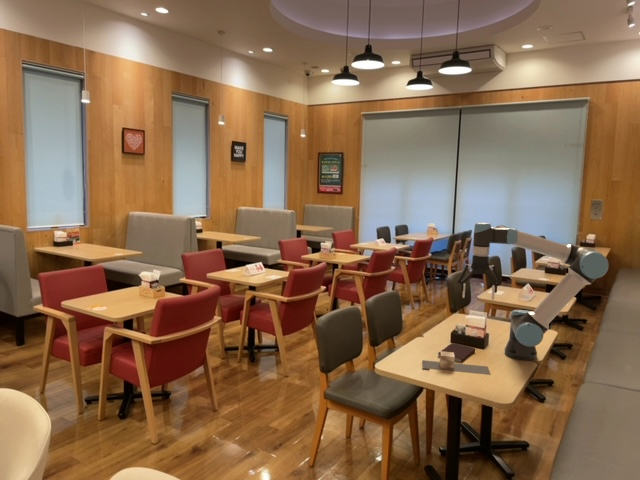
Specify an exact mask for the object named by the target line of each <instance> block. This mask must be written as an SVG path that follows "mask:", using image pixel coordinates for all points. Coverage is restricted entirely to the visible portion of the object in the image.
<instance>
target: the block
mask: <svg viewBox="0 0 640 480" xmlns="http://www.w3.org/2000/svg"><path fill="white" fill-rule="evenodd" d="M439 352H440V357H439V362H440V368H444V369H454V363H455V361H454V359H455V357H454V352H443V351H442V350H440V351H439Z"/></svg>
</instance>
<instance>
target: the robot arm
mask: <svg viewBox="0 0 640 480" xmlns="http://www.w3.org/2000/svg"><path fill="white" fill-rule="evenodd" d="M472 242H473V243H472V245H473V246H472V254H473V255H472V259H471V264H468V263H465V264H464V268H463V270H462V271H461V273H460V275H459V277H458V279H456V281H457V283H458V284H460V291H462V299H465V296H466V294H465V293H466V282H467V281H468V280H469V279H470V278H471V277H472V276H475V275H481V276H483V275H486V276H487V278H488V279H489V280H490V281H491V282H492V284H493V285H492V287H491V300H492V301H494V300H495V294H496V293H497V292H498V287H499V286H502V282H501V279H500V277H499V274H498V273H497V269H496V266H495V265H494V264H492V265H489V263H490V262H489V261H490V256H489V255H490V250H491V249H490V247H491V246H490V245H491V244H501V245H512V246H515V247H518V248H522V249H525V250H528V251H531V252H534V253H538V254H541V255H544V256H547V257H551V258H552V259H553V258H554V259H556V260H559V261H561V263H563V264H565V265H568V268H567V269H568V273H566V275H564V277H563V278H562V279H561V280H560V281H559V282H558V284H557V285H556V286H554V288H553V289H552V290H551V291H550V292H549V293H548V294H547V295H546V297H545V298H544V299H543V300H542V301H541V302H540V303H539V304H538V306H537V307H536V308H535V309H534V310H533V311H531V310H525V309H514V310H512V311H511V313H510V327H509V338H508V341H507V343H506V345H505V348H504V354H505V355H506V356H508V357H509V358H512V359H515V360H519V361H533V360H536V359H537V358H538V351H537V348H536V346H538V345H540V344H541V343H542V342H543V340H544V336H545V334H546V332H547V331H548V330H549V329H550V325H549V324H550V323H551V322H552V321H553V320H554V319H555V318H556V317H557V315H558V314H559V313H561V311H563V309H564V308H566V306H568V304H569V303H570V302H571V300H573V298H575V296H576V295H577V294H578V293H579V292H580V291H581V290H582V289H583V288H584V287H585V286H586V285H592V283H594V282H595V280H597V279H600V278H602V277H604V276H605V275H606V274H607V272H608V271H609V265H610V264H609V261H608V258H607V257H606V256H605V255H604V254H603V253H602V252H600V251H598V250H594V249H592V248H589V247H582V246H580V245H573V244H571V243H569V244H563V243H560V242H557V241H553V240H550V239H547V238H544V237H541V236H537V235H534V234H531V233H528V232H527V233H526V232H524V231H520V230H518V229H517V228H511V227H508V226H505V225H502V224H501V225H500V224H499V225H497V226H494V227H492V224H491V223H489V222H476V223H475V224H474V228H473V241H472ZM470 268H471V271H470V272H469V273H468V274H467V275H465V274H466V273H467V272H468V270H470ZM489 269H490V270H491V271H492V274H493V275H494V277H495V280H496V281H495V280H494V278H493V277H492V276H491V275H490V273H489V272H488V271H489Z"/></svg>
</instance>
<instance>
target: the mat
mask: <svg viewBox="0 0 640 480" xmlns="http://www.w3.org/2000/svg"><path fill="white" fill-rule="evenodd" d="M422 370H425V371H430V370H438V371H448V372H458V373H467V374H468V373H469V374H476V375H477V374H479V375H488V376H491V375H492V374H491V372H490V369H489V366H486V365H477V364H476V365H475V364H465V363H457V362H454V369H444V368H440V361H434V360H422Z"/></svg>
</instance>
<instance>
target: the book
mask: <svg viewBox="0 0 640 480" xmlns="http://www.w3.org/2000/svg"><path fill="white" fill-rule="evenodd" d="M441 351H443V352H454V357H455V359H454V362H459V363H460V364H463V363H464V362H465V361H466V360H467V359H468V358H469V357H471V355H474V354H475V353H476V348H474V347H471V346H468V345H465V344H459V343H455V342H452V343H450V344H448V345H447V346H446V347H445V348H443V349H442V350H441ZM437 355H438V356H437V357H438V358H440V351H439V352H437Z"/></svg>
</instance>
